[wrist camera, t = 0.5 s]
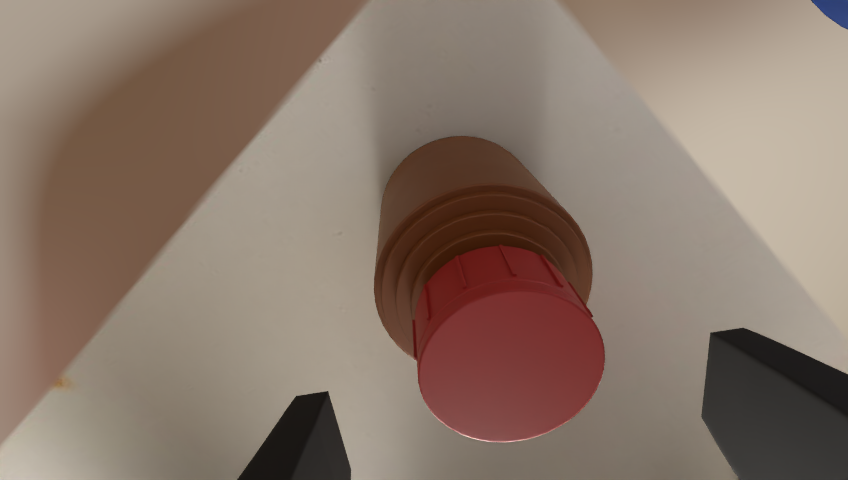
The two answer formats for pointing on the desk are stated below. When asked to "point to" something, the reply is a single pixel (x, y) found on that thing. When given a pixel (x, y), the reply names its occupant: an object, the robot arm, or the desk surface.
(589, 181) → the desk surface
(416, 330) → the cap
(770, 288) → the desk surface
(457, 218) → the bottle
